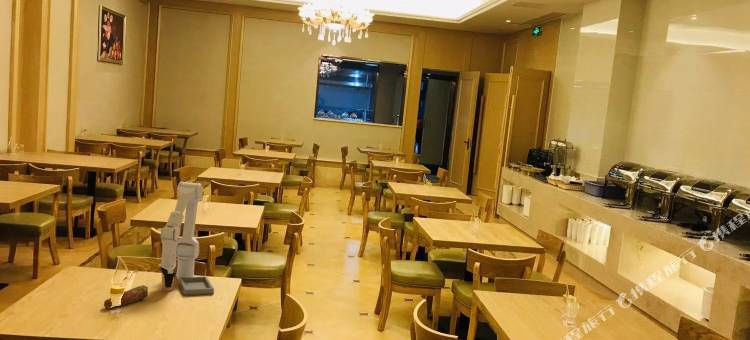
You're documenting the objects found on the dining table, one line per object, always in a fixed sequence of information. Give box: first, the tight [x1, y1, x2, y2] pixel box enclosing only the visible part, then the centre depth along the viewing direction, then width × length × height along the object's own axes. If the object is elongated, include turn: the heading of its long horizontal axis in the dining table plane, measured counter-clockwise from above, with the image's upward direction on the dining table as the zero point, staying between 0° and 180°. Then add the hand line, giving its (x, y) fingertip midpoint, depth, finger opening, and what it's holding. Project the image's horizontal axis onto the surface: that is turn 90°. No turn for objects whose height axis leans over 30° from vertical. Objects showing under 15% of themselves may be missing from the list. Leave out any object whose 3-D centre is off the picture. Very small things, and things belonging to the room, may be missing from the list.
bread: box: [103, 285, 149, 310], centre depth 251 cm, size 6×19×6 cm, turn 152°
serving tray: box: [178, 275, 215, 296], centre depth 277 cm, size 18×12×2 cm, turn 25°
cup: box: [160, 272, 175, 292], centre depth 272 cm, size 5×5×7 cm
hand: (167, 285), depth 272 cm, fingers closed on cup, 5 cm apart
